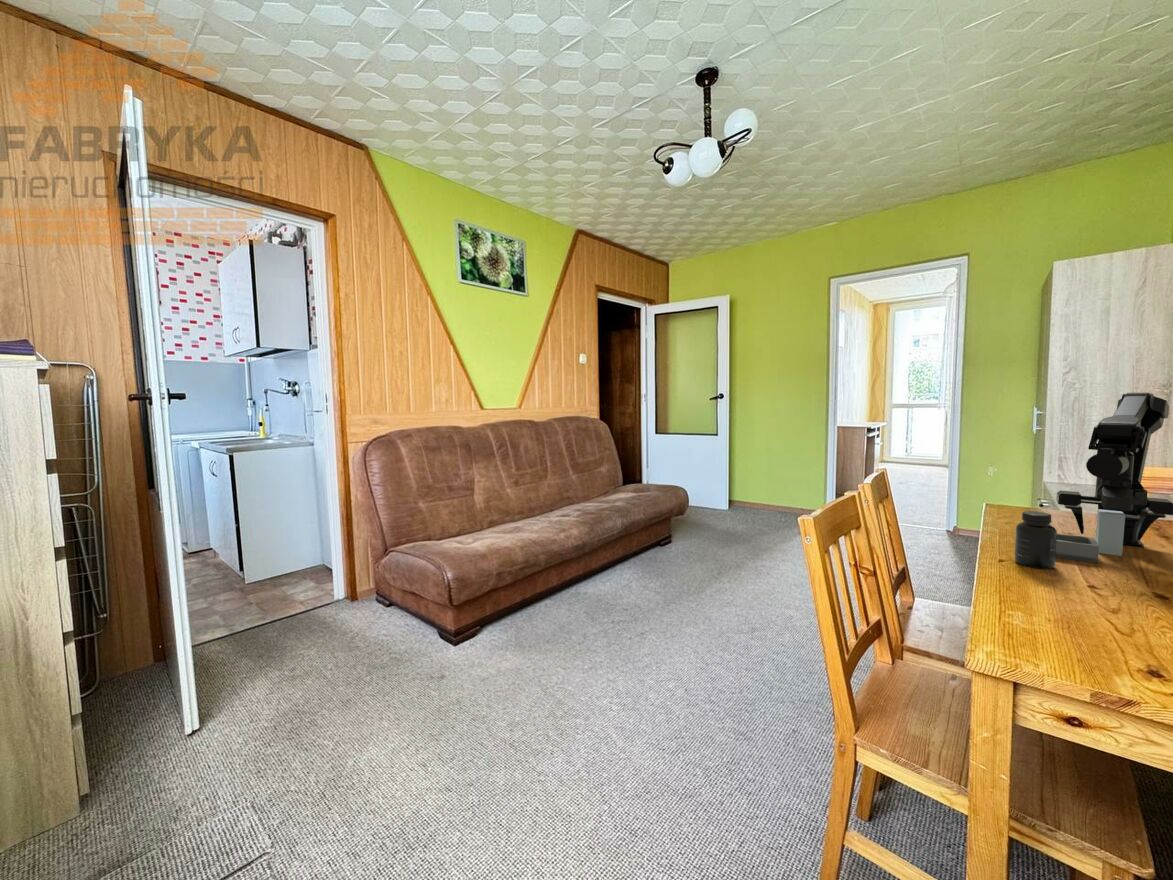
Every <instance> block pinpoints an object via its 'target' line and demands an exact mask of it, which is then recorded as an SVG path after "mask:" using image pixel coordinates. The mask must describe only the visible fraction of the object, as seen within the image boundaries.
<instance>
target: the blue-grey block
mask: <svg viewBox="0 0 1173 880" xmlns="http://www.w3.org/2000/svg"><path fill="white" fill-rule="evenodd" d="M1096 515H1097V516H1096V525H1095V526H1096V528H1095V538H1094V539H1095V541H1096V542H1097V544H1098V545H1099V554H1104V555H1111V556H1119V557H1122V556H1123V546H1124V544H1123V537H1124V525H1125V514H1124V513H1123V512H1121V511H1111V510H1100V509H1098V508H1097V514H1096Z"/></svg>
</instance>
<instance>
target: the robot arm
mask: <svg viewBox="0 0 1173 880" xmlns="http://www.w3.org/2000/svg"><path fill="white" fill-rule="evenodd" d="M1169 413H1170V405H1169V403H1168V400H1167V399H1163V398H1160V397H1158V396H1155V395H1154V393H1150V392H1126V393H1122V395H1121V398H1120V399H1118V401H1117V405H1116V410H1115V412H1114V413H1113V415H1112V416H1107V417H1104V418H1102V419H1101V420H1100V421H1099V422H1098V423H1097V425H1094V427H1093V429H1092V433H1091V437H1090V441H1089V444H1088V447H1087V448H1088V450H1091V451H1092V450H1093V451H1097V452H1096V454H1095V455H1092V456H1091V457H1090V456H1089V457H1090V458H1088V459H1087V461H1086V463H1085V466H1086V470H1087V472H1089V474H1091V475H1092V476H1093V477H1095V478H1096V480H1095V481H1096V482H1095V491H1094V496H1091V495H1082V494H1081V493H1080V491H1072V490H1071V491H1070V490H1059V491H1057V493H1056V499H1055V500H1056V503H1057V504H1058V505H1060V506H1063V507H1064V508H1065V509H1068V510H1070V511H1071V512H1072V514H1073V516H1074V519H1075V521H1076V524H1077V527H1078V529H1079V532H1080V534H1081V535H1084V531H1085V527H1084V518H1083V517H1084V515H1083V507H1082V504H1087V505H1088V504H1090V505H1097V510H1098V509H1100V510H1111V511H1121V512H1123V513H1124V514H1125V525H1124V537H1123V545H1129V546H1134V547H1145V544H1144V543H1143V542H1142V541H1141V540H1142V538H1143V537H1144V535H1145V533H1146V532H1147V530H1148V529H1149V528H1150V526H1151V525H1153V523H1154V522H1155V521H1157V520H1158V519H1165V518H1166V517H1167V516H1173V502H1172V501H1171V500H1169V499H1167V498H1157V497H1149V496H1148V490H1147V489H1145V488H1144V486H1143V485H1142V484H1141V483H1142V479H1143V474H1144V471H1145V466H1146V459H1147V456H1148V450H1149V445H1150V441H1151V437H1152V435H1153V434H1154V433H1156V432H1158V430H1160V429H1162V428H1163V425H1164V420H1165V419H1168V418H1169Z"/></svg>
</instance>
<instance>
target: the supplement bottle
mask: <svg viewBox="0 0 1173 880" xmlns="http://www.w3.org/2000/svg"><path fill="white" fill-rule="evenodd" d="M1021 516H1022V517H1021V520H1022V522H1019V523H1018V524H1017V525H1016V526H1015V537H1014V538H1015V543H1014V544H1015V545H1014V561H1015V562H1016V563H1017V564H1018V565H1022V566H1025V567H1029V568H1034V569H1039V570H1040V569H1042V570H1047V569H1048V570H1049V569H1053V568H1055V566H1056V558H1057V557H1056V541H1057V532H1058V531H1057V529H1056V528H1055V527H1054V526H1053V525H1051V524H1052V523H1053V521H1052V514H1051V513H1049V512H1044V511H1043V512H1042V511H1035V510H1025V511H1024V510H1023V511H1022V515H1021Z"/></svg>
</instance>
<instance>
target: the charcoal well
mask: <svg viewBox="0 0 1173 880" xmlns="http://www.w3.org/2000/svg"><path fill="white" fill-rule="evenodd" d="M1099 554H1100V553H1099V545H1098V544H1097V542H1096V541H1095V538H1094V537H1089V536H1082V535H1081V536H1079V535H1073V534H1066V533H1065V534H1064V533H1057V541H1056V558H1058V559H1065V560H1072V561H1079V562H1088V563H1091V564H1092V563H1093V564H1099Z"/></svg>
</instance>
